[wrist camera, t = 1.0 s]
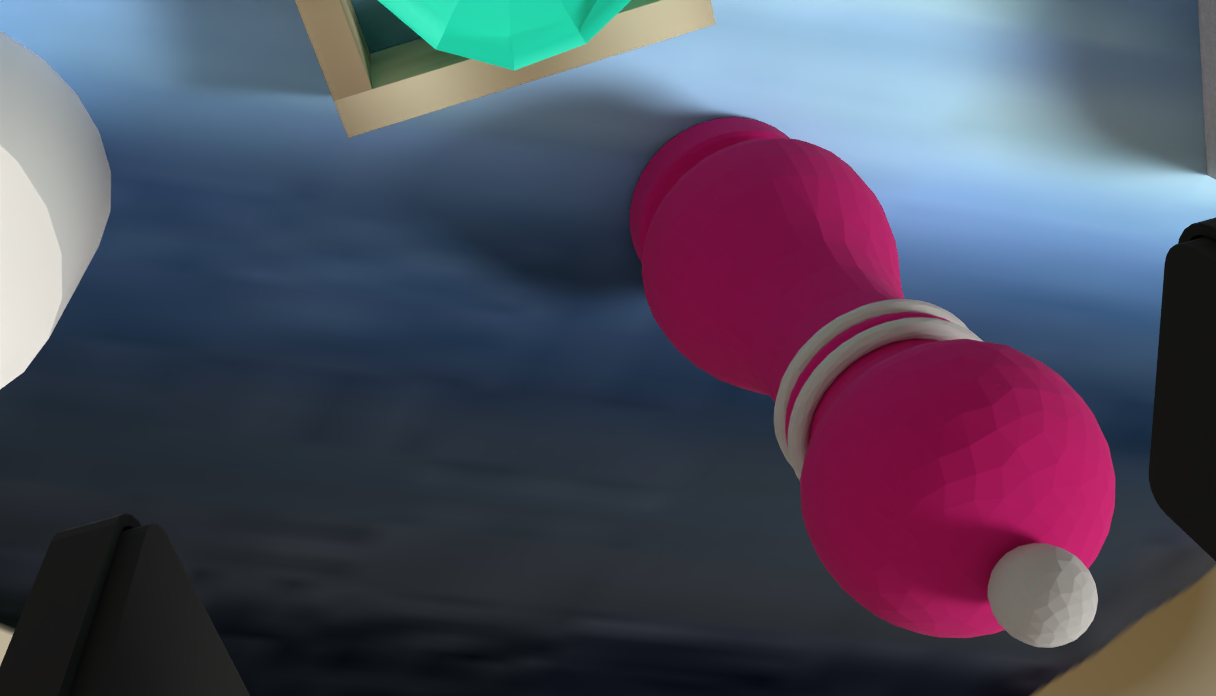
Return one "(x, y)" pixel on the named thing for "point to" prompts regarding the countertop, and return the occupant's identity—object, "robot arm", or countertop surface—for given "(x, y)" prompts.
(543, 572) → the countertop surface
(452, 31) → the candle
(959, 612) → the pepper mill
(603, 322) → the countertop surface
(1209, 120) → the grey angular block
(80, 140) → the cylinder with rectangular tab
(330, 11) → the wooden frame
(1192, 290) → the robot arm
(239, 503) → the countertop surface
